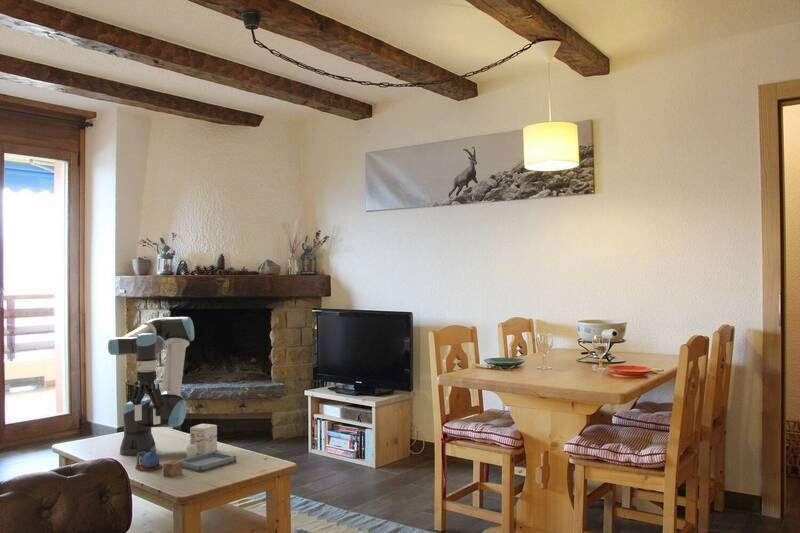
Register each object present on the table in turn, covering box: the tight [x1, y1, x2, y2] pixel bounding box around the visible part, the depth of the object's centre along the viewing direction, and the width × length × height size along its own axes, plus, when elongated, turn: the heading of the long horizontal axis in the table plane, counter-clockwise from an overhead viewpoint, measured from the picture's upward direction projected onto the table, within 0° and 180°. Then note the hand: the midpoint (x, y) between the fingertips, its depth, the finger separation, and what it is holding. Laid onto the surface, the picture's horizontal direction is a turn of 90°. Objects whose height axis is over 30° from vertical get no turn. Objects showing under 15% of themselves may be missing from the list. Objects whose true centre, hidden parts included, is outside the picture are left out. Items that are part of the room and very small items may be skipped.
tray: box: [178, 451, 237, 473], centre depth 274 cm, size 15×18×2 cm
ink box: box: [189, 423, 218, 455], centre depth 295 cm, size 9×8×12 cm
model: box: [134, 447, 163, 473], centre depth 271 cm, size 12×9×9 cm
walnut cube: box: [162, 459, 183, 478], centre depth 260 cm, size 5×5×5 cm
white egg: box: [186, 444, 198, 459], centre depth 282 cm, size 4×4×6 cm
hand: (147, 422), depth 271 cm, fingers open, 13 cm apart
